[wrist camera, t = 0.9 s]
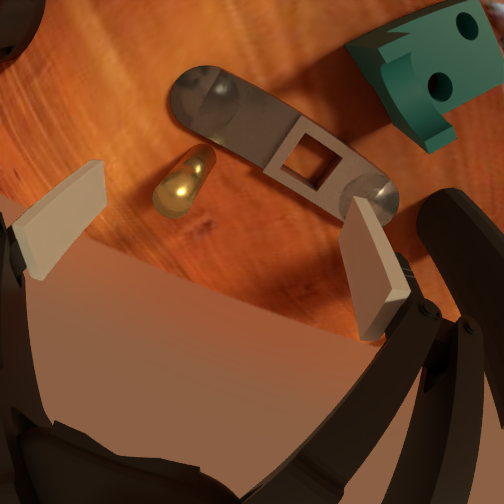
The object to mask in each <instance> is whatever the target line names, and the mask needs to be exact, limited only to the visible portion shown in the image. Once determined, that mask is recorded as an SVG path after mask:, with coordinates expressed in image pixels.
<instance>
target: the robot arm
mask: <svg viewBox="0 0 504 504" xmlns="http://www.w3.org/2000/svg"><path fill="white" fill-rule="evenodd" d="M44 7H45V0H0V63H1V62H5V61H9V60H12V59H14V58H15V57H17V56H18V55H19V54H21V53H22V52H23V50H24V49H25V48H26V47H27V46H28V44H29V43H30V41H31V40H32V38H33V37H34V35H35V33H36V31H37V29H38V27H39V24H40V22H41V19H42V16H43V12H44ZM106 206H107V197H106V188H105V178H104V166H103V160H90V161H89V162H88V163H86V164H85V165H83V166H82V167H81V168H79V169H78V170H77V171H75V172H74V173H73V174H71V175H70V176H69V177H67V178H66V179H65V180H63V181H62V182H61V183H60V184H58V185H57V186H56V187H55V188H53V189H52V190H51V191H50V192H48V193H47V194H46V195H45V196H44V197H42V198H41V199H40V200H39V201H38V202H36V203H35V204H34V205H32V206H31V207H30V208H29V209H28V210H27V211H26V212H25V213H23V215H21V216H20V217H19V218H18V219H17V220H16V221H15V222H14V223H13V224H12V225H11V226H10V227H8V228H7V229H6V226H5V222H4V219H3V216H2V213H1V212H0V504H338V503H339V501H340V500H341V499H342V497H343V495H344V487H345V485H346V484H347V483H348V481H349V480H350V479H351V478H352V476H353V475H354V474H355V473H356V471H357V470H358V468H359V467H360V466H361V465H362V463H363V462H364V461H365V459H366V458H367V457H368V455H369V454H370V453H371V451H372V450H373V448H374V447H375V445H376V444H377V442H378V441H379V440H380V438H381V437H382V435H383V434H384V432H385V430H386V429H387V427H388V426H389V424H390V422H391V421H392V419H393V418H394V416H395V415H396V413H397V411H398V409H399V408H400V406H401V404H402V403H403V401H404V399H405V397H406V396H407V394H408V392H409V390H410V388H411V386H412V385H413V383H414V381H415V379H416V377H417V375H418V373H419V371H420V369H421V367H422V372H421V377H420V382H419V387H418V392H417V396H416V400H415V405H414V409H413V413H412V417H411V420H410V425H409V428H408V431H407V435H406V438H405V441H404V445H403V448H402V451H401V454H400V457H399V460H398V463H397V466H396V468H395V471H394V474H393V477H392V479H391V482H390V484H389V487H388V489H387V492H386V494H385V497H384V499H383V501H382V503H381V504H467V502H468V498H469V495H470V491H471V487H472V482H473V478H474V473H475V468H476V462H477V457H478V451H479V444H480V436H481V427H482V417H483V402H484V346H483V333H482V329H481V327H480V326H479V324H478V322H476V320H475V319H473V318H471V317H470V316H467V315H462V316H461V317H459V319H458V320H457V321H456V322H455V323H454V322H452V321H449V320H447V319H444V318H442V314H441V311H440V309H439V308H438V307H437V306H436V305H435V304H434V303H433V302H432V301H430V300H428V299H425V298H424V296H423V294H422V292H421V290H420V287H419V285H418V283H417V281H416V278H414V274H413V272H412V271H411V268H410V266H409V264H408V261H407V260H406V259H405V258H404V257H403V256H402V255H401V254H400V253H397V252H394V251H393V249H392V247H391V245H390V243H389V241H388V239H387V237H386V235H385V233H384V231H383V229H382V227H381V225H380V223H379V221H378V219H377V217H376V215H375V213H374V211H373V209H372V207H371V206H370V204H369V202H368V200H367V199H365V198H361V197H357V196H353V198H352V201H351V204H350V207H349V210H348V213H347V216H346V219H345V222H344V224H343V227H342V230H341V233H340V236H339V239H338V243H339V247H340V251H341V254H342V258H343V262H344V267H345V271H346V275H347V279H348V283H349V288H350V292H351V297H352V301H353V306H354V311H355V316H356V320H357V325H358V331H359V336H360V340H361V341H375V342H378V340H379V339H380V338H381V336H382V335H383V333H384V332H385V336H386V340H387V341H386V342H385V343H384V345H383V346H382V347H381V349H380V350H379V351H378V352H377V354H376V355H375V357H374V359H373V360H372V362H371V363H370V364H369V366H368V367H367V368H366V370H365V371H364V372H363V374H362V375H361V376H360V377H359V379H358V380H357V381H356V383H355V384H354V385H353V386H352V388H351V389H350V390H349V391H348V393H347V394H346V395H345V396H344V397H343V399H342V400H341V401H340V402H339V403H338V405H337V406H336V407H335V408H334V409H333V410H332V412H331V413H330V414H329V415H328V416H327V417H326V418H325V419H324V421H323V422H322V423H321V424H320V425H319V426H318V427H317V428H316V429H315V430H314V431H313V433H312V434H311V435H310V436H309V437H308V438H307V439H306V440H305V441H304V442H303V443H302V444H301V445H300V446H299V447H298V448H297V449H296V450H295V451H294V452H293V453H292V454H291V455H290V456H289V457H288V458H287V459H286V460H285V461H284V462H283V463H282V464H280V465H279V466H278V467H277V468H276V469H275V470H274V471H273V472H272V473H270V474H269V475H268V476H267V477H266V478H264V479H263V480H262V481H261V482H260V483H258V484H257V485H256V486H255V487H254V488H253V489H251V490H250V491H249V492H248V493H246V494H245V495H244V496H243V497H241V498H240V499H239V498H238V497H237V496H236V495H235V494H234V493H233V492H232V491H231V490H230V489H229V488H228V487H226V486H225V485H224V484H222V483H221V482H219V481H217V480H216V479H214V478H212V477H210V476H208V475H206V474H204V473H201V472H200V467H197V466H192V465H187V464H183V463H178V462H174V461H169V460H165V459H161V458H143V457H126V456H119V455H116V454H114V453H113V452H111V451H110V450H108V449H107V448H105V447H103V446H102V445H100V444H99V443H98V442H96V441H95V440H93V439H92V438H90V437H89V436H88V435H86V434H85V433H83V432H80V431H78V430H76V429H73V428H71V427H69V426H66V425H65V424H62V423H60V422H58V421H56V420H55V421H54V424H53V425H52V423H51V421H50V420H49V419H48V417H47V415H46V413H45V411H44V409H43V406H42V402H41V398H40V393H39V389H38V385H37V380H36V375H35V370H34V365H33V359H32V352H31V345H30V338H29V330H28V320H27V309H26V291H25V277H24V274H23V271H24V270H25V269H26V267H27V269H28V272H29V274H30V276H31V278H34V279H37V280H40V281H43V280H44V279H45V277H46V276H47V275H48V273H49V272H50V271H51V270H52V268H53V267H54V266H55V264H56V263H57V262H58V261H59V259H60V258H61V257H62V256H63V254H64V253H65V252H66V251H67V250H68V248H69V247H70V246H71V245H72V244H73V242H74V241H75V240H76V239H77V238H78V237H79V235H80V234H81V233H82V232H83V231H84V230H85V228H86V227H87V226H88V225H89V224H90V223H91V222H92V221H93V220H94V218H95V217H96V216H97V215H98V214H99V213H100V212H101V211H102V210H103V209H104V208H105V207H106Z"/></svg>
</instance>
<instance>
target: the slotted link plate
mask: <svg viewBox="0 0 504 504" xmlns="http://www.w3.org/2000/svg"><path fill="white" fill-rule="evenodd" d="M170 103H171V108H172V111H173V113H174V115H175V117H176V118H177V119H178V121H179V122H180V123H181V124H183V125H184V126H185V127H187V128H189V129H191V130H193V131H195V132H197V133H198V134H200V135H202V136H204V137H206V138H208V139H210V140H212V141H214V142H216V143H218V144H219V145H221V146H223V147H225V148H227V149H229V150H231V151H232V152H234V153H236V154H238V155H240V156H242V157H243V158H245V159H247V160H249V161H250V162H252V163H254V164H256V165H258V166H259V167H261V168H263V173H265V174H266V175H268V176H270V177H271V178H273V179H275V180H277V181H278V182H280V183H282V184H283V185H285V186H287V187H288V188H290V189H292V190H293V191H295V192H297V193H298V194H300V195H302V196H303V197H305V198H306V199H308V200H310V201H311V202H313V203H314V204H316V205H318V206H319V207H321V208H322V209H324V210H325V211H327V212H329V213H330V214H332V215H333V216H335V217H336V218H338V219H339V220H341V221H342V222H345V219H346V216H347V213H348V210H349V207H350V204H351V201H352V198H353V196H357V197H361V198H365V199H367V200H368V202H369V204H370V206H371V207H372V209H373V211H374V213H375V215H376V217H377V219H378V221H379V223H380V225H381V227H383V226H385V225H386V224H387V223H389V222H390V221H391V220H392V218H393V217H394V215H395V214H396V212H397V209H398V206H399V193H398V190H397V188H396V186H395V185H394V183H393V182H392V181H391V180H390V178H389V177H388V176H387V175H386V174H385V173H384V172H383V171H382V170H381V169H379V168H378V167H377V166H376V165H374V164H373V163H372V162H370V161H369V160H368V159H367V158H365V157H364V156H363V155H361V154H360V153H359V152H357V151H356V150H355V149H353V148H352V147H351V146H349V145H348V144H347V143H345V142H344V141H342V140H341V139H340V138H338V137H337V136H335V135H334V134H333V133H331V132H330V131H328V130H327V129H325V128H324V127H322V126H321V125H319V124H318V123H316V122H315V121H313V120H312V119H310V118H309V117H307V116H306V115H304V114H302V113H301V112H299V111H298V110H296V109H295V108H293V107H291V106H290V105H288V104H286V103H285V102H283V101H281V100H280V99H278V98H276V97H275V96H273V95H271V94H269V93H268V92H266V91H264V90H262V89H260V88H259V87H257V86H255V85H253V84H251V83H249V82H248V81H246V80H244V79H242V78H240V77H238V76H236V75H234V74H232V73H230V72H228V71H226V70H224V69H222V68H219V67H216V66H198V67H194V68H192V69H189V70H188V71H186V72H184V73H183V74H182V75H181V76H180V77H179V78H178V79H177V80H176V82H175V84H174V85H173V88H172V91H171V96H170ZM305 133H307V134H308V135H310V136H311V137H313V138H314V139H316V140H318V141H319V142H321V143H322V144H323V145H325V146H326V147H328V148H329V149H331V150H332V151H334V152H335V153H337V155H336V157H335V158H334V159H333V161H332V162H331V163H330V165H329V166H328V167H327V169H326V170H325V171H324V172H323V174H322V175H321V176H320V178H319V179H318V180H317V182H316V183H315V184H314V183H313V182H311V181H309V180H308V179H306V178H305V177H303V176H301V175H300V174H298V173H297V172H295V171H293V170H292V169H290V168H289V167H287V166H285V165H284V164H283V163H284V162H285V161H286V159H287V158H288V156H289V155H290V153H291V152H292V151H293V149H294V148H295V146H296V145H297V143H298V142H299V141H300V139H301V138H302V136H303V135H304V134H305Z"/></svg>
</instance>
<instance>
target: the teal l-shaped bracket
mask: <svg viewBox="0 0 504 504" xmlns="http://www.w3.org/2000/svg"><path fill="white" fill-rule="evenodd" d="M344 46H345V48H346V49H347V51H348V52H349V54H350V55H351V57H352V58H353V60H354V61H355V63H356V65H357V66H358V68H359V69H360V71H361V72H362V74H363V76H364V77H365V79H366V80H367V82H368V84H370V85H372V86H373V87H374V89H375V91H376V93H377V95H378V96H379V98H380V100H381V102H382V104H383V105H384V107H385V109H386V111H387V113H388V115H389V117H390V119H391V121H392V123H393V125H394V126H396V127H397V128H398V129H399V130H401V131H402V132H403V133H404V134H406V135H407V136H408V137H409V138H411V139H412V140H413V141H414V142H415V143H417V144H418V145H419V146H420V147H421V148H422V149H423V150H425V151H426V152H427V153H428V154H431V153H433V152H434V151H436V150H438V149H440V148H441V147H443V146H445V145H447V144H448V143H450V142H452V141H454V140H456V139H457V137H456V134H455V131H454V128H453V126H452V125H451V124H450V123H448V122H447V121H446V120H445V119H444V118H443V117H442V116H441V115H443V114H445V113H447V112H448V111H450V110H452V109H454V108H456V107H458V106H460V105H462V104H463V103H465V102H467V101H469V100H471V99H473V98H475V97H477V96H479V95H481V94H482V93H484V92H486V91H488V90H490V89H492V88H494V87H496V86H498V85H500V84H502V83H504V59H503V56H502V54H501V51H500V48H499V45H498V42H497V40H496V37H495V35H494V32H493V30H492V28H491V25H490V23H489V21H488V19H487V16H486V14H485V12H484V10H483V8H482V6H481V4H480V2H479V0H447V1H444V2H441V3H438V4H435V5H432V6H430V7H427V8H424V9H421V10H419V11H416V12H414V13H411V14H409V15H406V16H404V17H402V18H399V19H397V20H395V21H392V22H390V23H388V24H386V25H383V26H381V27H379V28H377V29H375V30H373V31H371V32H369V33H367V34H365V35H362V36H360V37H358V38H357V39H355V40H353V41H351V42H349V43H347V44H345V45H344ZM433 74H435V76H436V80H437V85H436V88H435V90H434V91H433V92H432V93H431V94H429V91H428V81H429V78H430V77H431V75H433Z"/></svg>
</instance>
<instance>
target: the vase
mask: <svg viewBox="0 0 504 504" xmlns="http://www.w3.org/2000/svg"><path fill="white" fill-rule="evenodd" d="M416 225H417V234H418V236H419V237H420V239H421V241H422V243H423V244H424V246H425V248H426V249H427V251H428V253H429V254H430V256H431V258H432V260H433V261H434V263H435V265H436V267H437V268H438V270H439V272H440V274H441V276H442V278H443V280H444V281H445V283H446V285H447V287H448V289H449V291H450V293H451V295H452V297H453V299H454V301H455V303H456V305H457V307H458V309H459V311H460V314H461V316H462V315H467V316H470V317H471V318H473V319H475V320H476V322H478V324H479V326H480V327H481V329H482V333H483V346H484V372H485V375H486V377H487V380H488V384H489V387H490V390H491V393H492V396H493V399H494V403H495V406H496V410H497V413H498V417H499V421H500V425H501V429H504V234H503V233H502V232H501V231H500V230H499V228H498V227H497V226H496V225H495V224H494V223H493V222H492V221H491V220H490V219H489V217H488V216H487V215H486V214H485V213H484V212H483V211H482V210H481V209H480V208H479V207H478V206H477V205H476V204H475V203H474V202H473V201H472V200H471V199H470V198H469V197H468V196H467V195H466V194H465V193H464V192H463V191H462V190H459V189H455V188H447V189H442V190H440V191H438V192H436V193H435V194H433V195H432V196H431V197H430V198H429V199H428V200H427V201H426V202H425V203H424V205H423V207H422V208H421V210H420V212H419V214H418V219H417V223H416Z"/></svg>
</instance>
